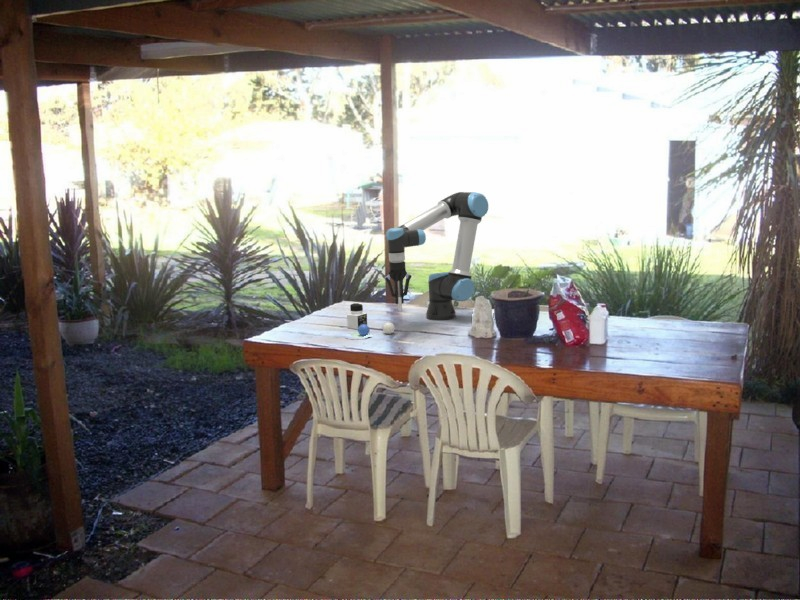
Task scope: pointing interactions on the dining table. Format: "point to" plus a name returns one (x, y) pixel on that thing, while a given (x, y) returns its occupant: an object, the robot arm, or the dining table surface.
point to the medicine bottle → (356, 316)
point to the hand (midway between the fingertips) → (399, 310)
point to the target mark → (357, 335)
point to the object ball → (363, 330)
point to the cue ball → (388, 328)
